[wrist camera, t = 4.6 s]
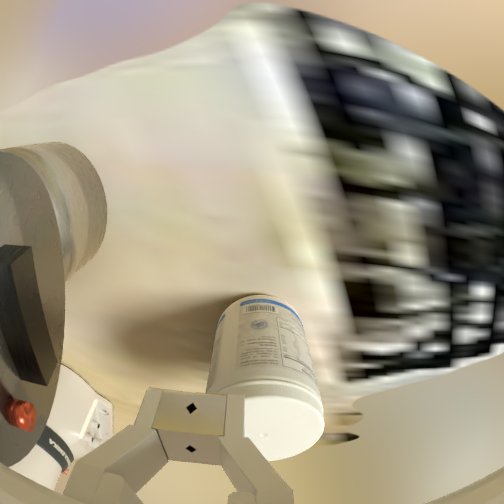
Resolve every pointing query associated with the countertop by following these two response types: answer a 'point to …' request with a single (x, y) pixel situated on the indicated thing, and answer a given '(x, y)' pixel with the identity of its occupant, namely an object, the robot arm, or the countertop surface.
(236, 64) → the countertop surface
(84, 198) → the cooker pot
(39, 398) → the cooker lid
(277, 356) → the supplement tub
